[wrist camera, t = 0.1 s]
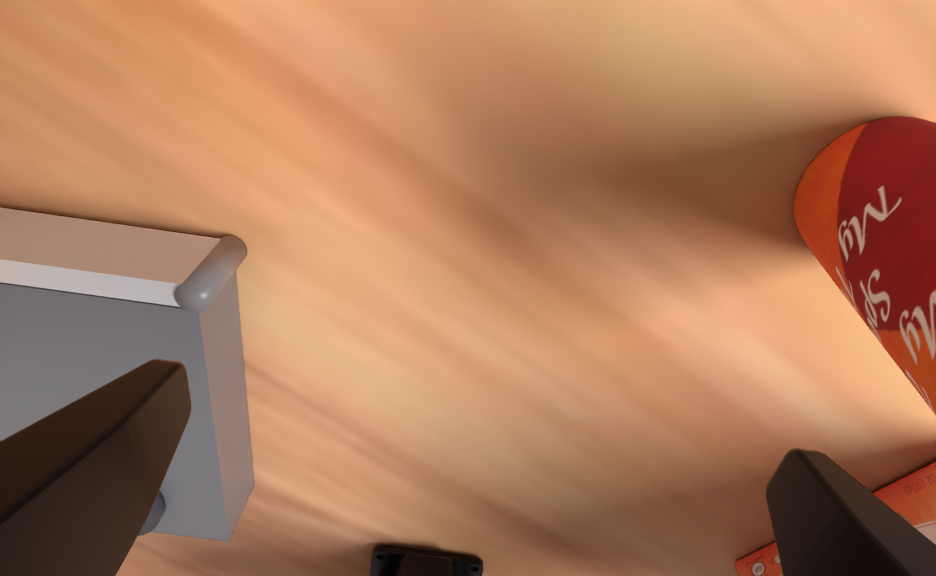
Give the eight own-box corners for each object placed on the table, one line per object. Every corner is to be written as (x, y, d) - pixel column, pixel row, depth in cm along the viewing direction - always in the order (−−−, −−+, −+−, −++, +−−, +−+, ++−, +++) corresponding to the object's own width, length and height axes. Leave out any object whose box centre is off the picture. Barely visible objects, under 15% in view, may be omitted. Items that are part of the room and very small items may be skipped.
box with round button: (254, 484, 32) (224, 553, 29) (69, 460, 32) (15, 527, 28) (234, 263, 25) (191, 320, 21) (-8, 230, 24) (-93, 282, 21)
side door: (248, 263, 25) (135, 415, 17) (-11, 226, 24) (-243, 365, 17) (246, 237, 24) (128, 384, 16) (-20, 199, 24) (-265, 332, 16)
